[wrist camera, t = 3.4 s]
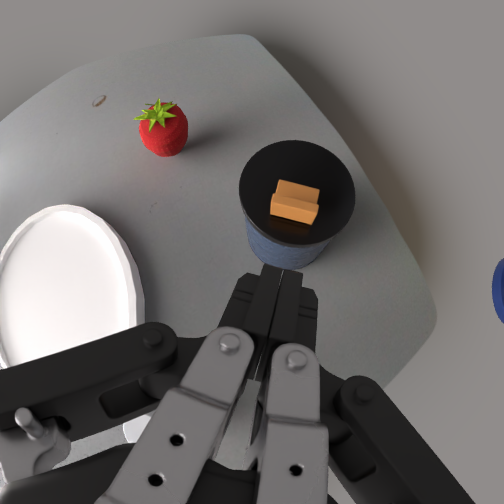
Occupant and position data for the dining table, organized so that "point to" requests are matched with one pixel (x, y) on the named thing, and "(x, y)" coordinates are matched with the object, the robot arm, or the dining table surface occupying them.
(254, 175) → the travel cup
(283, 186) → the orange l-shaped block
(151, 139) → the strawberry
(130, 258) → the plate
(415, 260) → the dining table surface
